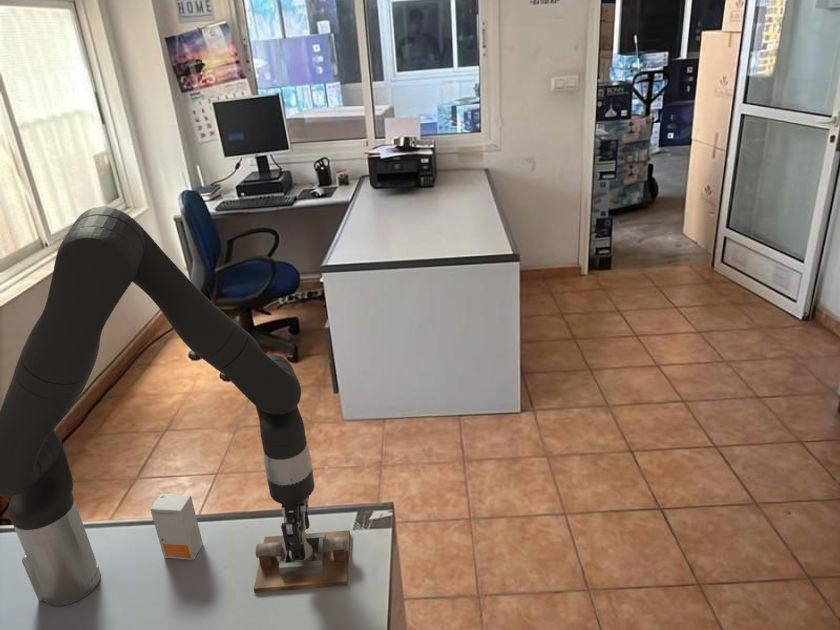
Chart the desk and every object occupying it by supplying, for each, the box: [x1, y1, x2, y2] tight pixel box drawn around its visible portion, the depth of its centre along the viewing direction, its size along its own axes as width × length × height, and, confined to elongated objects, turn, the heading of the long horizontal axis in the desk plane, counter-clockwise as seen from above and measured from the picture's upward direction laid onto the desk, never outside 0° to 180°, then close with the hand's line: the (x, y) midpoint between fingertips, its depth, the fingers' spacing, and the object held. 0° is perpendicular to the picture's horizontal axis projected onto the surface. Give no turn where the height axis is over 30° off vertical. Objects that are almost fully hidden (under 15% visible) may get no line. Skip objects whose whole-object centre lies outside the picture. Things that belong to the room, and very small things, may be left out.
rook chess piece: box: [289, 521, 314, 562], centre depth 114 cm, size 4×4×8 cm
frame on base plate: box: [253, 529, 351, 594], centre depth 115 cm, size 16×12×5 cm
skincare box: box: [150, 493, 203, 561], centre depth 118 cm, size 6×4×12 cm
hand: (301, 542), depth 114 cm, fingers open, 6 cm apart
